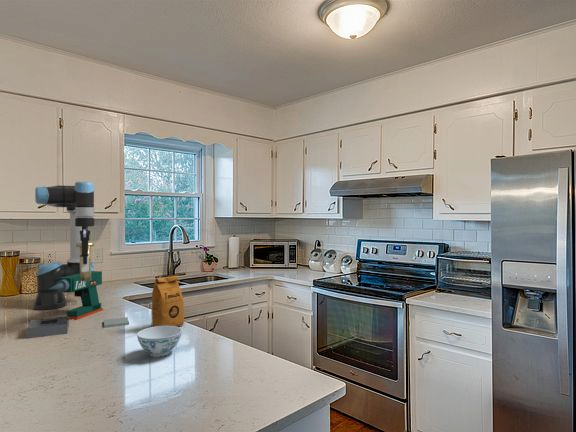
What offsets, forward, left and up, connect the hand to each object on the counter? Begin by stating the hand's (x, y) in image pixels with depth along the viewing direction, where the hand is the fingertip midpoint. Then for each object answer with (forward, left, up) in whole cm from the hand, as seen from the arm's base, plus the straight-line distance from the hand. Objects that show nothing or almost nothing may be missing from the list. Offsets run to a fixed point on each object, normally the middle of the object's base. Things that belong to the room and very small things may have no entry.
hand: (85, 270), depth 173 cm
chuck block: (0, -14, -25) cm, 28 cm away
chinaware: (+49, +24, -25) cm, 60 cm away
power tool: (-19, -5, -25) cm, 32 cm away
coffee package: (+17, +32, -25) cm, 44 cm away
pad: (0, +12, -25) cm, 27 cm away
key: (0, 0, -4) cm, 4 cm away
